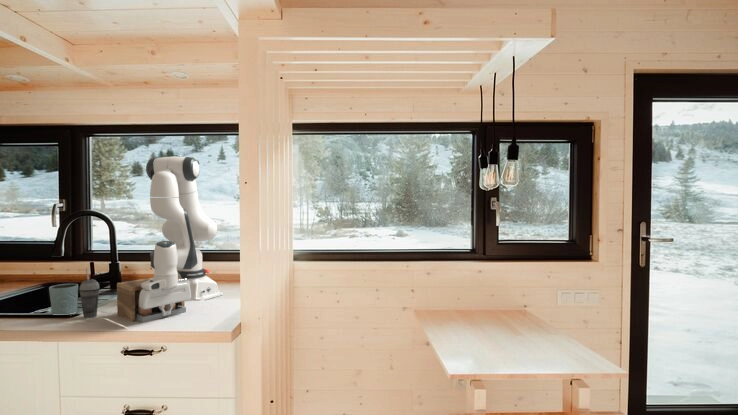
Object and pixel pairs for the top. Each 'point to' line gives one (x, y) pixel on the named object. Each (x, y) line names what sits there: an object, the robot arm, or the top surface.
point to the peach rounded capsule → (144, 311)
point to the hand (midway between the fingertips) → (166, 315)
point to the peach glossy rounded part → (168, 306)
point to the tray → (158, 313)
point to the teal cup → (64, 298)
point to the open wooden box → (131, 298)
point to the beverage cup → (89, 297)
